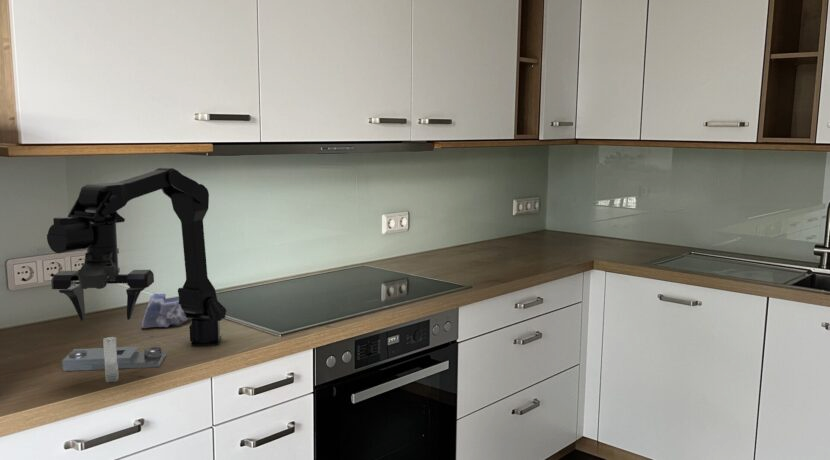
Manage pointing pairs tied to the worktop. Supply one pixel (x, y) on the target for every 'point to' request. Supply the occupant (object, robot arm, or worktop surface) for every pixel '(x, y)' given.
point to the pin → (110, 359)
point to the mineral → (163, 312)
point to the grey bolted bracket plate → (125, 357)
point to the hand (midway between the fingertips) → (105, 319)
